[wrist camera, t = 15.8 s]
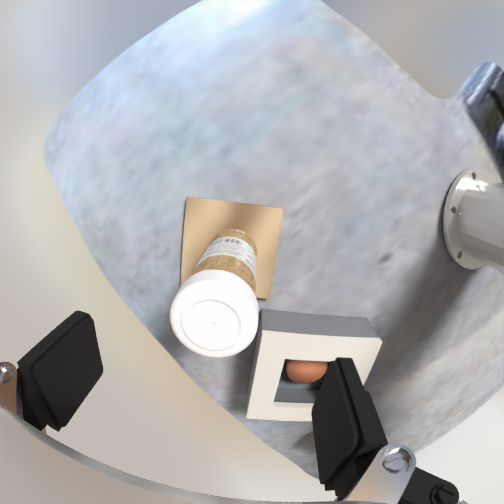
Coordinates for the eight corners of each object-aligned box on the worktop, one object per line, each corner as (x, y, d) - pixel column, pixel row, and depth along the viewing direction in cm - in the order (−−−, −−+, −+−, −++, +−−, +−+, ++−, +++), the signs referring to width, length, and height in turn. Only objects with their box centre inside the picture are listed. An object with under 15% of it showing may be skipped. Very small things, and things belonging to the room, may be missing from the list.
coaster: (282, 208, 25) (283, 209, 25) (268, 296, 28) (268, 299, 27) (188, 197, 25) (186, 197, 25) (182, 284, 28) (180, 286, 27)
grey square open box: (366, 318, 28) (382, 342, 24) (337, 393, 32) (345, 420, 27) (261, 308, 28) (262, 334, 23) (247, 389, 31) (246, 418, 27)
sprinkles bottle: (206, 267, 26) (164, 349, 13) (215, 222, 25) (171, 272, 12) (252, 278, 27) (247, 368, 14) (263, 233, 25) (268, 294, 12)
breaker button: (329, 345, 29) (332, 354, 27) (319, 375, 30) (321, 384, 29) (290, 343, 29) (291, 351, 27) (282, 373, 30) (283, 382, 29)
